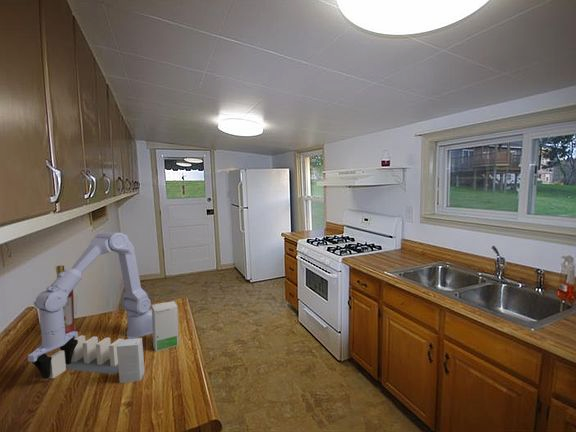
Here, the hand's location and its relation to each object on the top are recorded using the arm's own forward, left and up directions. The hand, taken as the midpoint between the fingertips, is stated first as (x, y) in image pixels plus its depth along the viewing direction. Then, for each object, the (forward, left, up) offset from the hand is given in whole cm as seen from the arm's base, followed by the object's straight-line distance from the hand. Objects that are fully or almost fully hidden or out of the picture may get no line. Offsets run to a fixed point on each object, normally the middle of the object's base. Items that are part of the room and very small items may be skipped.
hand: (57, 370), depth 92 cm
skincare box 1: (-19, +16, -2) cm, 25 cm away
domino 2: (-6, -7, -1) cm, 9 cm away
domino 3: (-9, -3, -1) cm, 10 cm away
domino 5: (-16, +4, -1) cm, 17 cm away
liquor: (-1, -32, -2) cm, 32 cm away
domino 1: (0, 0, -2) cm, 2 cm away
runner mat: (-9, -3, -2) cm, 10 cm away
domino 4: (-13, +1, -1) cm, 13 cm away
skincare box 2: (-32, +2, -2) cm, 32 cm away
